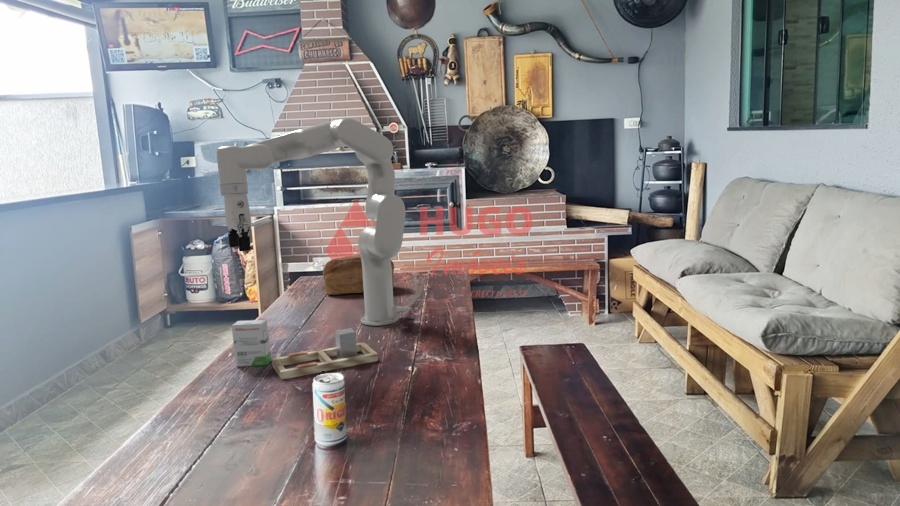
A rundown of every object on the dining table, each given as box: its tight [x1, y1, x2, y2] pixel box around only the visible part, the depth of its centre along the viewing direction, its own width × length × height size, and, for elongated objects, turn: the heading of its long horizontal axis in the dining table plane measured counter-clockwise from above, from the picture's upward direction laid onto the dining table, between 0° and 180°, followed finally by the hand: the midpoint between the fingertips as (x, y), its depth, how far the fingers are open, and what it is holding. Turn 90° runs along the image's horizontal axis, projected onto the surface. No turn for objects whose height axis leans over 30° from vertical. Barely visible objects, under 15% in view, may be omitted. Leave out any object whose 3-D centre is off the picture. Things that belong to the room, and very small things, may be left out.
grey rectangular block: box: [334, 327, 358, 360], centre depth 176 cm, size 4×4×8 cm
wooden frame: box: [271, 341, 379, 380], centre depth 174 cm, size 26×12×2 cm, turn 116°
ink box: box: [231, 319, 272, 368], centre depth 176 cm, size 9×5×12 cm, turn 89°
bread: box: [322, 254, 395, 296], centre depth 256 cm, size 12×28×14 cm, turn 99°
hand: (240, 248), depth 187 cm, fingers open, 9 cm apart
